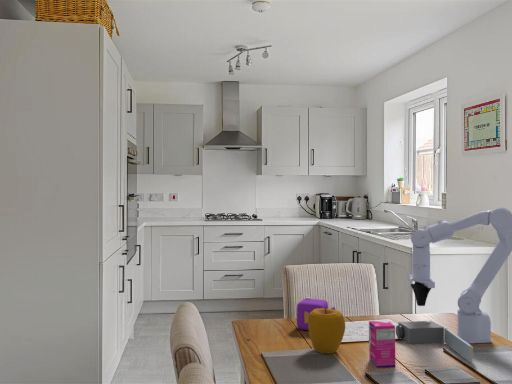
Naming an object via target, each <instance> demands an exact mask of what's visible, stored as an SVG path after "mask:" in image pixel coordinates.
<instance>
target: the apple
mask: <svg viewBox="0 0 512 384" xmlns="http://www.w3.org/2000/svg"><path fill="white" fill-rule="evenodd" d="M308 327H309V330H308V334H309V339H310V342H311V344H312V346H313V349H314V351H315V352H318V353H320V354H324V353H326V354H327V355H329V354H330V353H331V354H334V353H335V352H337V351H338V350H339V349H340V347H341V346H340V345H341V344H342V341H343V338H344V335H345V331H346V321H345V317H344V315H343V313H342V312H341V311H339V310H337V309H335V310H333V309H331V308H328V309H326V308H324V309H323V308H317V309H314V310H313V311H312V312H310V314H309V316H308ZM331 354H330V355H331Z"/></svg>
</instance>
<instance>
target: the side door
mask: <svg viewBox="0 0 512 384" xmlns="http://www.w3.org/2000/svg"><path fill="white" fill-rule="evenodd" d="M444 343H445V344H446V345H448V346H449V347H450V348H451V349H453V351H455V352H456V353H458V354H459V355H460V356H462V358H464V359H465V360H467V361H468V362H469V363H473V360H474V347H473V346H472V345H471V343H467V342H466V341H464V340H463V339H461V338H460V337H459V336H457V334H456V333H454V332H453V331H451V329H449V328H448V327H444Z"/></svg>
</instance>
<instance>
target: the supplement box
mask: <svg viewBox="0 0 512 384" xmlns="http://www.w3.org/2000/svg"><path fill="white" fill-rule="evenodd" d="M368 360H369V362H370V363H371V364H372V365H373V367H374V368H375V369H379V368H380V369H382V368H383V369H385V368H386V369H387V368H396V365H397V364H396V325H394V324H393V323H392V322H391V321H389V320H388V319H386V320H385V319H382V320H368Z"/></svg>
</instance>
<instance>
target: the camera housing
mask: <svg viewBox="0 0 512 384" xmlns="http://www.w3.org/2000/svg"><path fill="white" fill-rule="evenodd" d="M397 323H398V324H397V325H395V336H396V338H398V339H400V338H401V339H400V340H402V341H403V342H405V343H406V344H408V345H409V346H410V345H413V346H414V345H415V346H416V345H433V344H444V343H445V342H444V328H445V327H444V326H443V325H441V324H438V323H436V322H435V321H432V320H415V321H412V320H411V321H398V322H397Z"/></svg>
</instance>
